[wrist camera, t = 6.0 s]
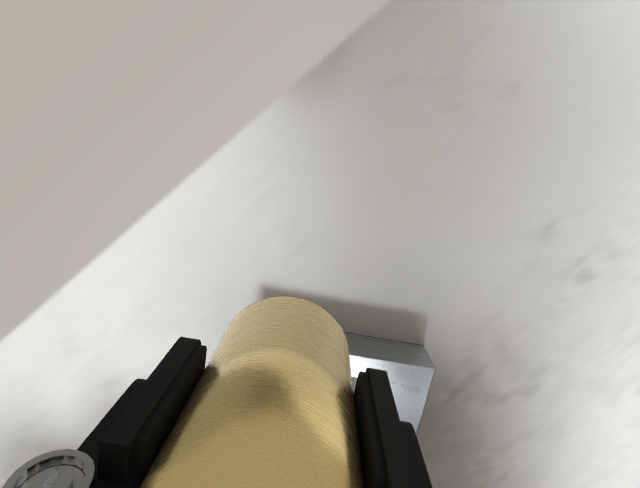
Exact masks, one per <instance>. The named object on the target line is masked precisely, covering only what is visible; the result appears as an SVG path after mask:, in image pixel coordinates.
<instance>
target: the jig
mask: <svg viewBox="0 0 640 488" xmlns="http://www.w3.org/2000/svg"><path fill="white" fill-rule="evenodd" d="M344 334H345V336H346V340H347V343H348V349H349V357H350V366H351V376H352V377H356V378H358V374H359V372H360V371H361V372H365V371H366V369H367V368H374V369H380V370H385V371H387V374H388V378H389V382H390V385H391V389H392V393H393V397H394V400H395V404H396V408H397V411H398V415H399V419H400V421H405V422H410V423H411V424H412V425H413V428H414V430H415V434H417V431H418V427H419V424H420V420H421V417H422V413H423V410H424V406H425V403H426V399H427V396H428V392H429V389H430V385H431V382H432V379H433V375H434V372H435V367H434V365H433V363H432V361H431V359H430V357H429V355H428V353H427V351H426V349H425V347H424V346H422V345H416V344H410V343H404V342H398V341H392V340H386V339H380V338H374V337H368V336H362V335H356V334H350V333H344Z"/></svg>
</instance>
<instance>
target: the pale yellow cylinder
mask: <svg viewBox="0 0 640 488" xmlns="http://www.w3.org/2000/svg"><path fill="white" fill-rule="evenodd" d="M140 488H364V486H363V476H362V467H361V458H360V449H359V440H358V431H357V421H356V412H355V403H354V394H353V385H352V376H351V366H350V357H349V349H348V343H347V340H346V336H345V334H344V332H343V330H342V328H341V327H340V325H339V324H338V322H337V321H336V320H335V319H334V317H333V316H332V315H330V314H329V313H328V312H327V311H326V310H324V309H323V308H322V307H320V306H318V305H316V304H314V303H312V302H310V301H307V300H305V299H301V298H296V297H289V296H277V297H270V298H266V299H263V300H260V301H257V302H255V303H253V304H251V305H249V306H248V307H246V308H245V309H243V310H242V311H241V312H240V313H239V314H238V315H237V316H236V317H235V318H234V319H233V321H232V322H231V323H230V325H229V327H228V328H227V330H226V332H225V334H224V336H223V338H222V339H221V341H220V343H219V345H218V347H217V348H216V350H215V352H214V354H213V356H212V357H211V359H210V361H209V363H208V365H207V366H206V368H205V370H204V372H203V374H202V375H201V377H200V379H199V381H198V383H197V385H196V386H195V388H194V390H193V392H192V394H191V395H190V397H189V399H188V401H187V403H186V404H185V406H184V408H183V410H182V412H181V413H180V415H179V417H178V419H177V421H176V422H175V424H174V426H173V428H172V430H171V432H170V433H169V435H168V437H167V439H166V441H165V442H164V444H163V446H162V448H161V450H160V451H159V453H158V455H157V457H156V459H155V460H154V462H153V464H152V466H151V468H150V470H149V471H148V473H147V475H146V477H145V479H144V480H143V482H142V484H141V486H140Z"/></svg>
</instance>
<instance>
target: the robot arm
mask: <svg viewBox="0 0 640 488" xmlns="http://www.w3.org/2000/svg"><path fill="white" fill-rule="evenodd" d="M206 351H207V348H206V346H202V345H201V341H200V340H197V339H191V338H185V337H180V338H179V339H178V340H177V342H176V343H175V344H174V345H173V347H172V348H171V349H170V351H169V352H168V353H167V354H166V356H165V357H164V358H163V360H162V361H161V362H160V363H159V365H158V366H157V367H156V369H155V370H154V371H153V372H152V374H151V375H150V376H149V378H148V379H147V380H144V379H136V380H135V381H134V382H133V383H132V384H131V385H130V386H129V388H128V389H127V390H126V391H125V392H124V394H123V395H122V396H121V397H120V398H119V400H118V401H117V402H116V403H115V405H114V406H113V407H112V408H111V409H110V411H109V412H108V413H107V414H106V415H105V417H104V418H103V419H102V420H101V421H100V423H99V424H98V425H97V426H96V427H95V429H94V430H93V431H92V432H91V434H90V435H89V436H88V437H87V438H86V440H85V441H84V442H83V443H82V444H81V446H80V447H79V448H78V449H77V450H70V449H65V450H57V451H52V452H49V453H46V454H43V455H40V456H38V457H36V458H34V459H32V460H30V461H28V462H27V463H25V464H24V465H23V466H21V467H20V468H19V469H17V470H16V471H15V472H14V473H13V474H12V476H11V477H10V478H9V479H8V480H7V481H6V483H5V484H4V486H3V487H2V488H140V486H141V484H142V482H143V480H144V479H145V477H146V475H147V473H148V471H149V470H150V468H151V466H152V464H153V462H154V460H155V459H156V457H157V455H158V453H159V451H160V450H161V448H162V446H163V444H164V442H165V441H166V439H167V437H168V435H169V433H170V432H171V430H172V428H173V426H174V424H175V422H176V421H177V419H178V417H179V415H180V413H181V412H182V410H183V408H184V406H185V404H186V403H187V401H188V399H189V397H190V395H191V394H192V392H193V390H194V388H195V386H196V385H197V383H198V381H199V379H200V377H201V375H202V374H203V372H204V369H205V360H206ZM354 403H355V412H356V421H357V431H358V440H359V449H360V458H361V467H362V476H363V486H364V488H432V485H431V482H430V479H429V476H428V472H427V469H426V466H425V463H424V459H423V456H422V453H421V450H420V447H419V443H418V440H417V437H416V434H415V430H414V428H413V425H412V424H411V423H410V422H405V421H400V419H399V415H398V411H397V408H396V404H395V400H394V397H393V393H392V389H391V385H390V382H389V378H388V374H387V371H385V370H380V369H374V368H367V369H366V371H365V372H361V371H360V372H359V374H358V378H357V382H356V387H355V391H354Z"/></svg>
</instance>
